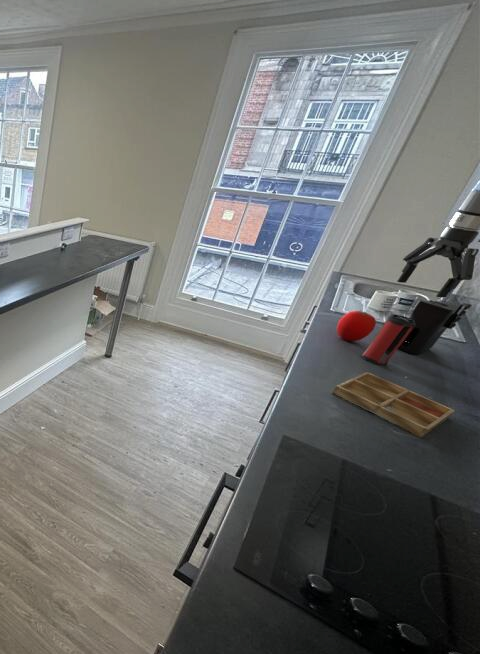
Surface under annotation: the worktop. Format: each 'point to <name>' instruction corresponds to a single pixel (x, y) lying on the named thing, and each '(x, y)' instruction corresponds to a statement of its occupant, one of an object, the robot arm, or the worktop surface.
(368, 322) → the red egg shape
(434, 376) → the worktop surface
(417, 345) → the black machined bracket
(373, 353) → the speaker
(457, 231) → the robot arm
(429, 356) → the worktop surface
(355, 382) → the wooden divided tray
